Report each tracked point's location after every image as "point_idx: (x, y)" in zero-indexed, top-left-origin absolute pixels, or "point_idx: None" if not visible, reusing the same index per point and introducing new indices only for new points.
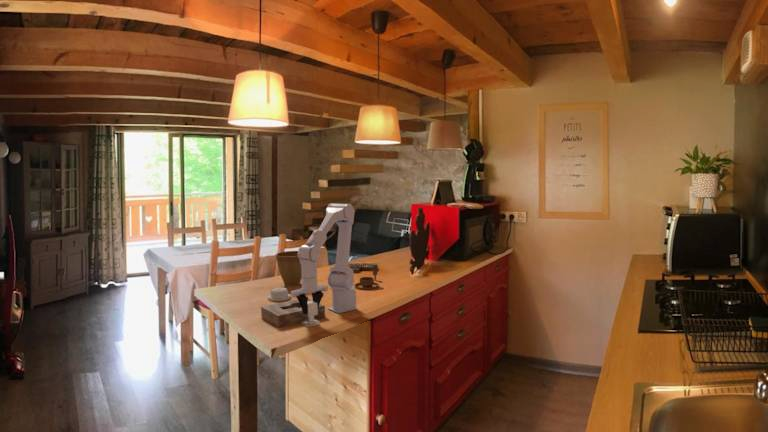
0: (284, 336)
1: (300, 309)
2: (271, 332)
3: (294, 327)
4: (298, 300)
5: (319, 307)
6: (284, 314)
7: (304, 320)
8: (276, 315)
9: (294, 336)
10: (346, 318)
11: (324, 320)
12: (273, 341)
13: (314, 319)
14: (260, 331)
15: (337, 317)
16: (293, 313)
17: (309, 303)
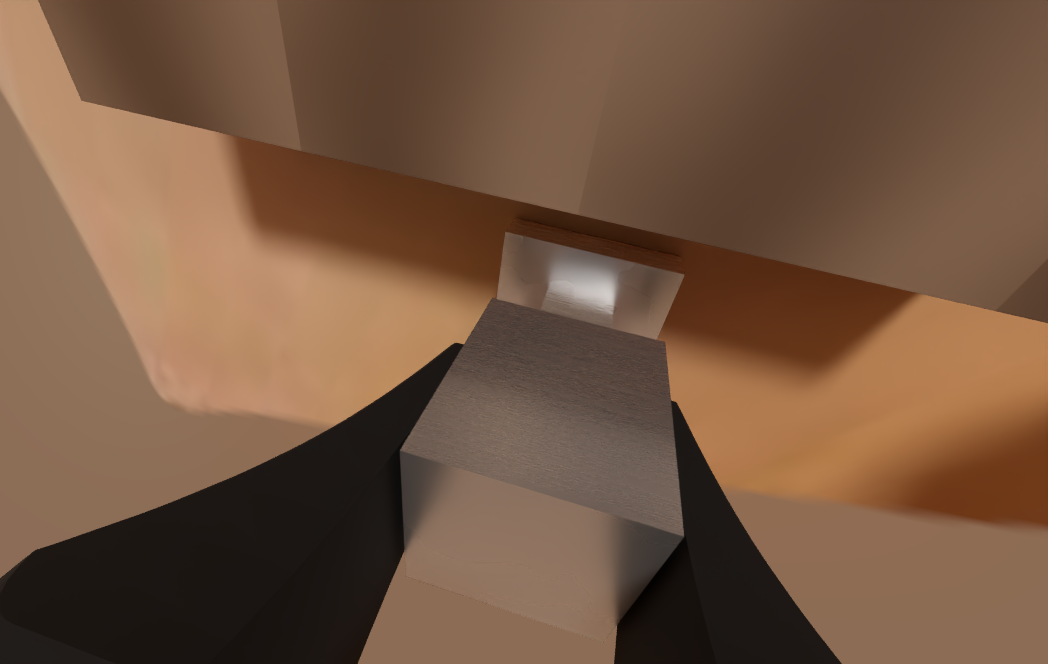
0: (254, 336)
1: (586, 101)
2: (164, 173)
3: (399, 243)
4: (223, 487)
5: (989, 307)
6: (195, 124)
7: (543, 251)
8: (60, 23)
9: (317, 388)
10: (972, 479)
11: (785, 341)
12: (171, 343)
13: (652, 321)
14: (47, 38)
15: (988, 394)
16: (375, 159)
17: (467, 572)
